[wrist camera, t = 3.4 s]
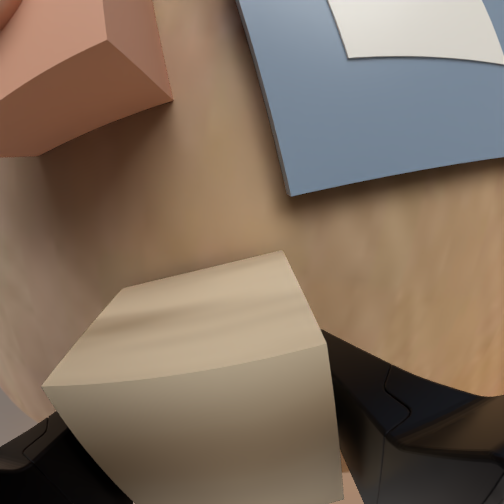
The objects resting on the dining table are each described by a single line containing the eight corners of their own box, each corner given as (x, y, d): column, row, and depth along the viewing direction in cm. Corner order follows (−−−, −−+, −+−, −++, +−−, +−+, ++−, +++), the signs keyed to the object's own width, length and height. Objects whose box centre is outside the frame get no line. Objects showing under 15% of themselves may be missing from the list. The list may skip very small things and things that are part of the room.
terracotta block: (174, 101, 8) (90, 25, 3) (39, 156, 8) (-92, 166, 3) (148, -21, 7) (91, -124, 1) (27, 38, 7) (-72, -5, 2)
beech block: (309, 383, 10) (343, 499, 5) (176, 407, 10) (152, 519, 6) (282, 249, 9) (327, 343, 4) (122, 287, 9) (41, 386, 4)
